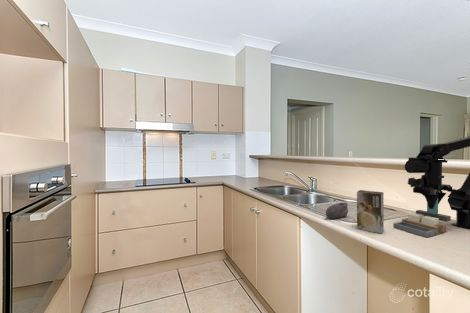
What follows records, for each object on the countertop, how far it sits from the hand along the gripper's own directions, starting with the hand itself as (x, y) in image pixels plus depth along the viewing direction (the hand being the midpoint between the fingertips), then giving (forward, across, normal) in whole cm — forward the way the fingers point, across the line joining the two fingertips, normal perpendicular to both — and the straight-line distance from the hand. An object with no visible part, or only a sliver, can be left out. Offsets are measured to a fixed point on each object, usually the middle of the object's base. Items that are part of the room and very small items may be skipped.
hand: (432, 208), depth 95 cm
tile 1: (+5, +8, -2) cm, 9 cm away
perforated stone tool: (+8, +27, -27) cm, 39 cm away
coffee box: (+8, +28, -9) cm, 31 cm away
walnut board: (+8, +7, 0) cm, 11 cm away
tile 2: (+5, +8, +2) cm, 9 cm away
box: (+8, +14, 0) cm, 16 cm away
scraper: (+4, 0, 0) cm, 4 cm away
